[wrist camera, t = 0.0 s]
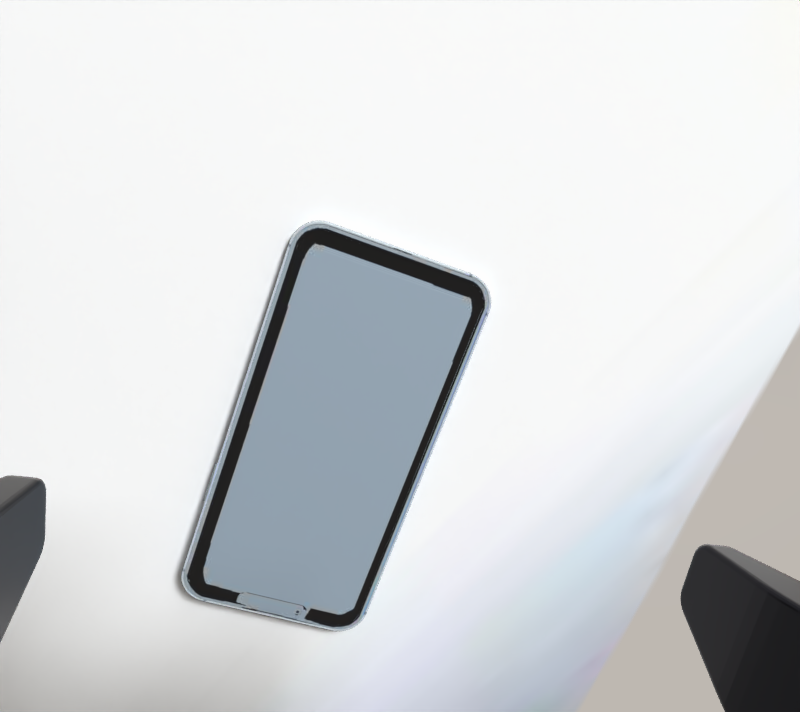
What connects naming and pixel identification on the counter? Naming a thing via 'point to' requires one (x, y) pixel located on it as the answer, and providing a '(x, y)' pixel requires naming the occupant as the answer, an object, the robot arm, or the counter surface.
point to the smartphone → (333, 427)
